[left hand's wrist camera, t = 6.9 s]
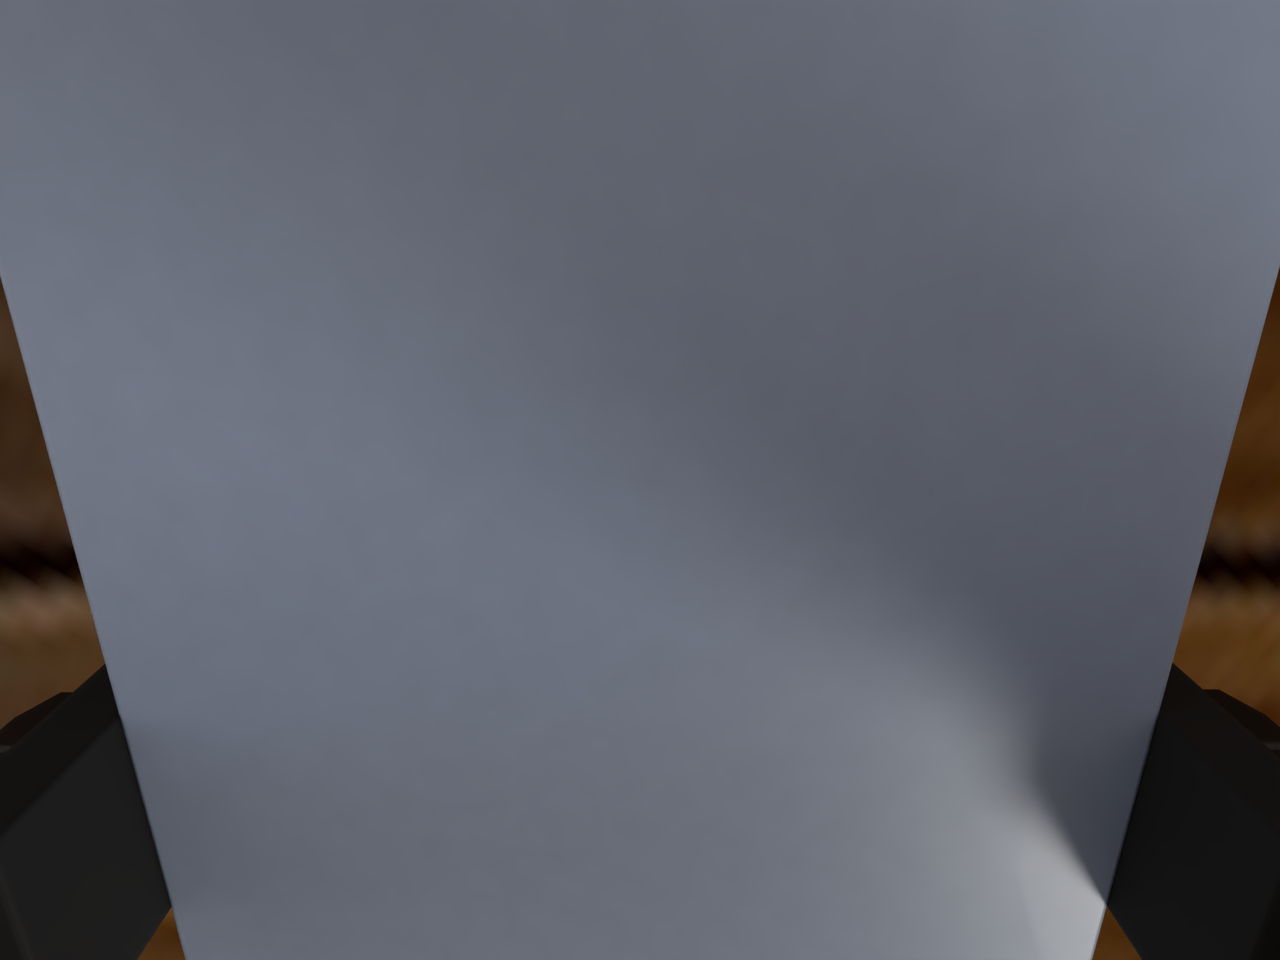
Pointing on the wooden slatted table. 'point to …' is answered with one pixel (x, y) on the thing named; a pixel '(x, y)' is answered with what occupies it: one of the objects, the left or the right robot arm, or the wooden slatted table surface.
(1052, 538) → the cabinet
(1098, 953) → the wooden slatted table surface
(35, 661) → the wooden slatted table surface
